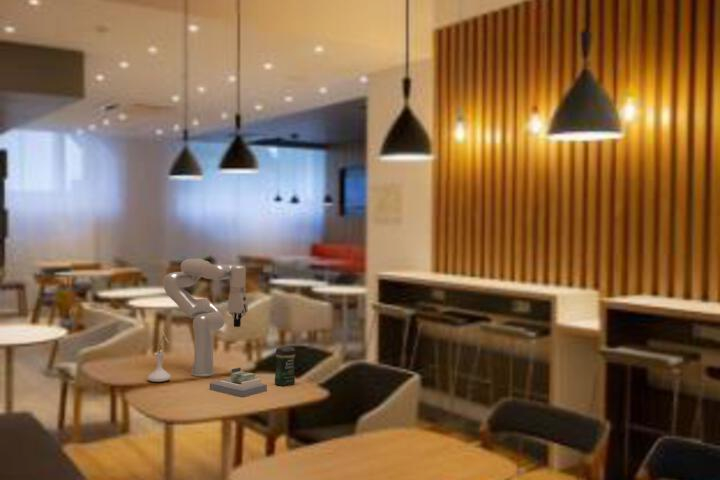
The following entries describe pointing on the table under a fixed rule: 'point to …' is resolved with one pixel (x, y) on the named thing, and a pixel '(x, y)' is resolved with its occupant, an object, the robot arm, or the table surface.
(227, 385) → the dock
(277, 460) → the table surface
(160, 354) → the flower in vase
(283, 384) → the coffee jar
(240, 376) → the cart
